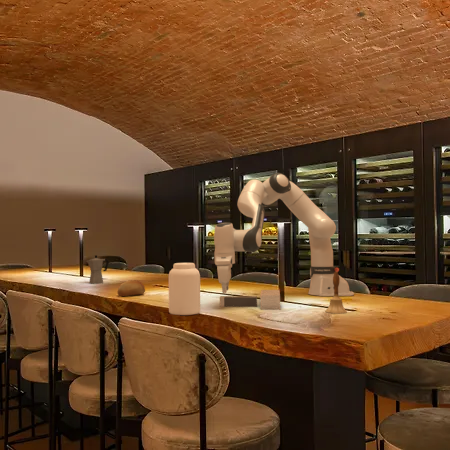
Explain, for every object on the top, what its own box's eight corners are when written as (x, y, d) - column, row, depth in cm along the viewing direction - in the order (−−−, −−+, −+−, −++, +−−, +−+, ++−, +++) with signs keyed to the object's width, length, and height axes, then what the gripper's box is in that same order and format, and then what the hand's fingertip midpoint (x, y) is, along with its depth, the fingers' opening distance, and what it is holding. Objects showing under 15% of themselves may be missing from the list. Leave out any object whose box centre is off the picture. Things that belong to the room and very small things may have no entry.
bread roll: (149, 295, 267) (149, 280, 267) (122, 298, 258) (122, 281, 258) (140, 293, 275) (140, 278, 275) (114, 296, 266) (114, 280, 266)
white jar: (188, 316, 198) (187, 264, 198) (162, 314, 205) (162, 263, 205) (206, 312, 209) (205, 262, 209) (181, 309, 215) (181, 261, 216)
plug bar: (257, 305, 226) (257, 296, 226) (256, 306, 222) (256, 297, 222) (220, 305, 227) (220, 296, 228) (219, 306, 224) (219, 297, 224)
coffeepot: (89, 284, 327) (88, 255, 327) (83, 283, 335) (83, 255, 335) (112, 282, 336) (111, 255, 336) (106, 281, 344) (106, 254, 344)
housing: (279, 302, 233) (279, 289, 233) (280, 309, 213) (279, 295, 213) (261, 302, 234) (261, 289, 234) (260, 309, 214) (260, 295, 214)
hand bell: (347, 311, 208) (347, 271, 208) (345, 314, 200) (345, 272, 200) (327, 310, 210) (326, 270, 211) (324, 313, 203) (323, 272, 203)
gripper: (219, 258, 236) (220, 288, 236) (215, 261, 216) (215, 294, 215) (233, 258, 235) (234, 288, 235) (230, 261, 215) (231, 294, 215)
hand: (225, 291), depth 225 cm, fingers open, 8 cm apart
